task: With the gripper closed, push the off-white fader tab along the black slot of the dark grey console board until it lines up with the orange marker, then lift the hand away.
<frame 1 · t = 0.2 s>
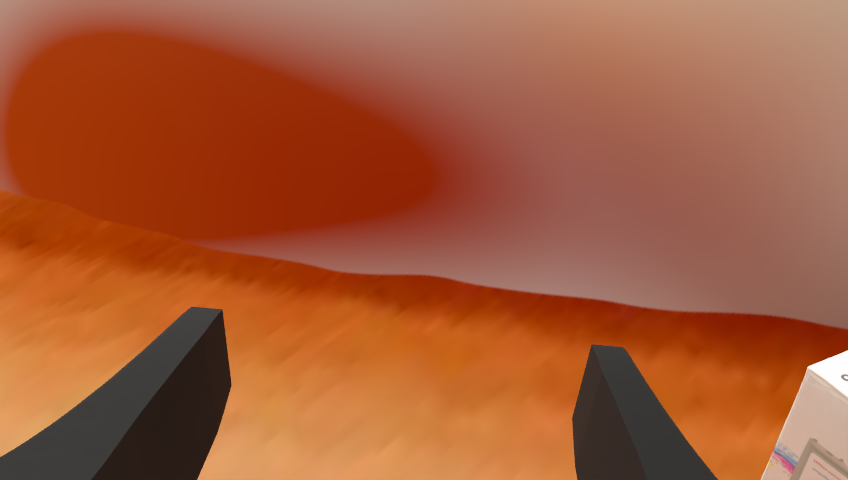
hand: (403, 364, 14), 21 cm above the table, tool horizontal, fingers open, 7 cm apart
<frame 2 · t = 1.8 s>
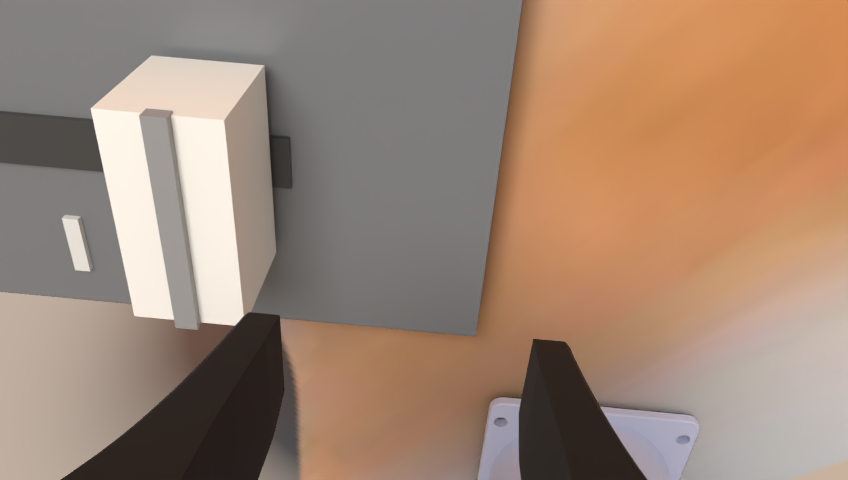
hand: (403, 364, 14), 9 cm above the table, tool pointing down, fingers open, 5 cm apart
console board: (46, 116, 22), on the table
fader tab: (197, 194, 19), point 4 cm above the table, slide at 0.0 cm
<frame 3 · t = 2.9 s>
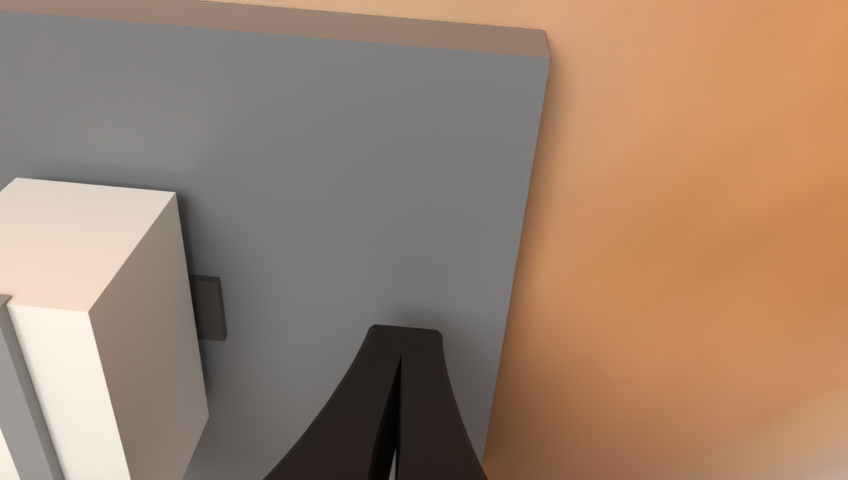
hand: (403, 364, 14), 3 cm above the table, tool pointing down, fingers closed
fader tab: (81, 373, 13), point 4 cm above the table, slide at 0.0 cm
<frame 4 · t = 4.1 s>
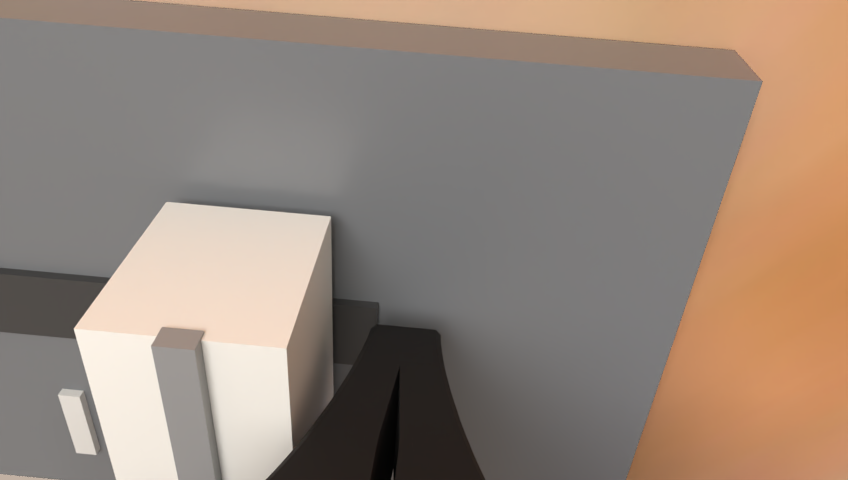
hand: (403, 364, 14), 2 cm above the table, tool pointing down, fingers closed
console board: (36, 256, 16), on the table
fader tab: (232, 402, 13), point 4 cm above the table, slide at 0.4 cm, touching gripper
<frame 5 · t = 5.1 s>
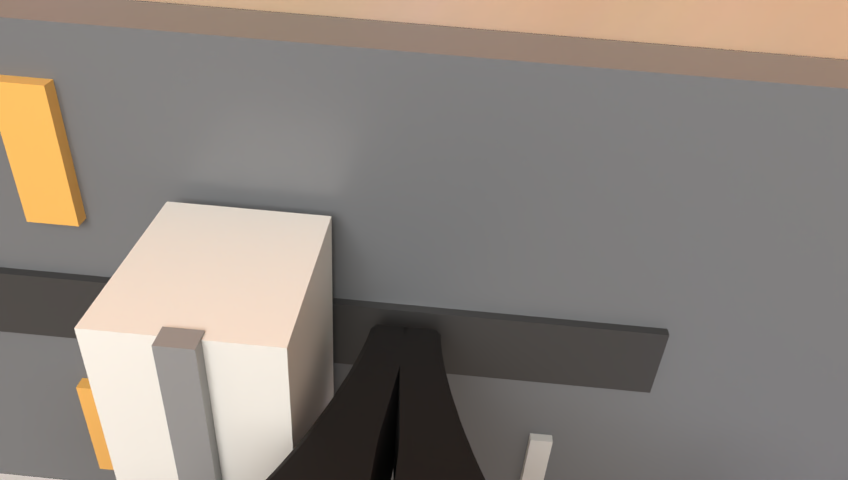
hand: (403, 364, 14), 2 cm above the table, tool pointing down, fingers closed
console board: (289, 279, 16), on the table
fader tab: (233, 402, 13), point 4 cm above the table, slide at 6.2 cm, touching gripper
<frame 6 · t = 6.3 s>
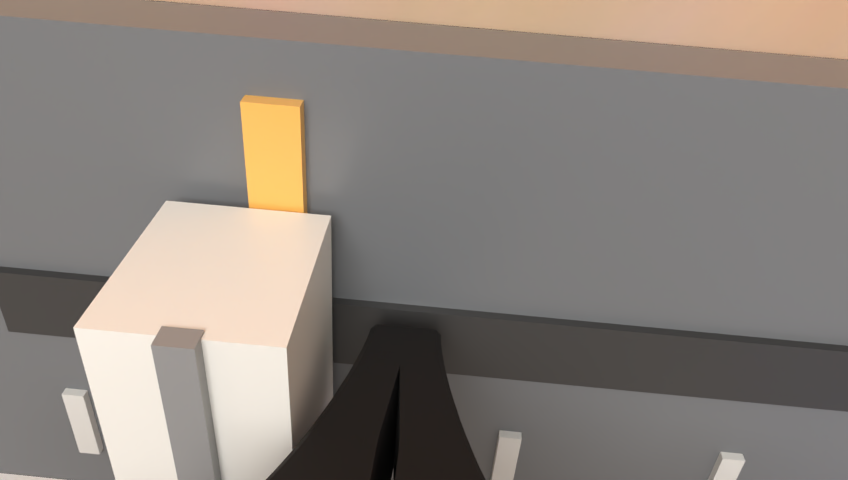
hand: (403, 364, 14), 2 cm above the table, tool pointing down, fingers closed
console board: (478, 296, 16), on the table
fader tab: (232, 402, 13), point 4 cm above the table, slide at 10.5 cm, touching gripper
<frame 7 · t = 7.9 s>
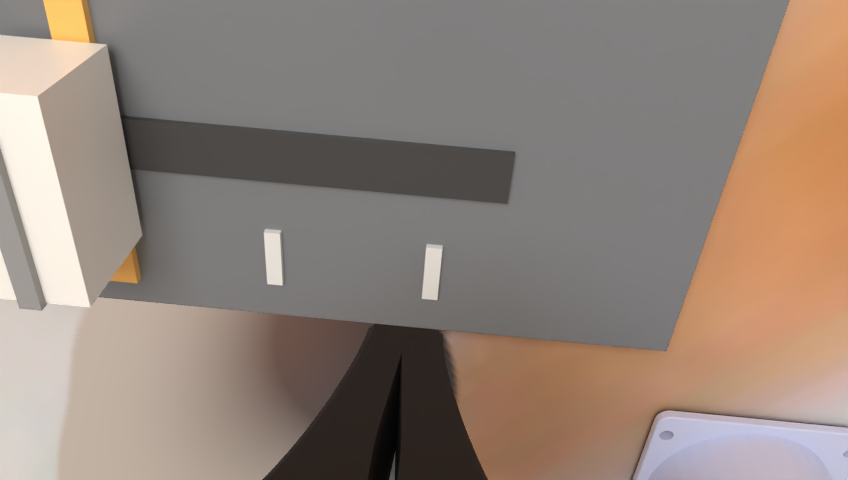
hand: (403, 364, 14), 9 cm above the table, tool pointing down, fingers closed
console board: (248, 129, 22), on the table
fader tab: (40, 174, 19), point 4 cm above the table, slide at 10.5 cm
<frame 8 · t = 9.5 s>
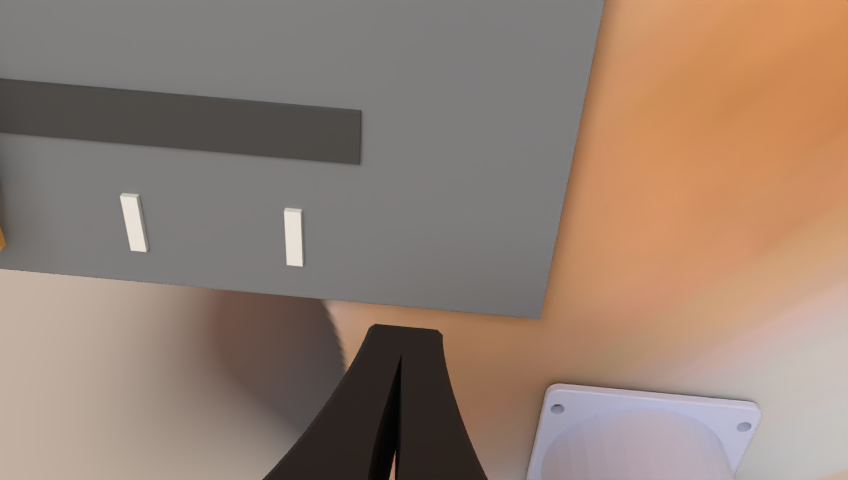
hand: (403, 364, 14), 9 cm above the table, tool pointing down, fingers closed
console board: (104, 91, 21), on the table
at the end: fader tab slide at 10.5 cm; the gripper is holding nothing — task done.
